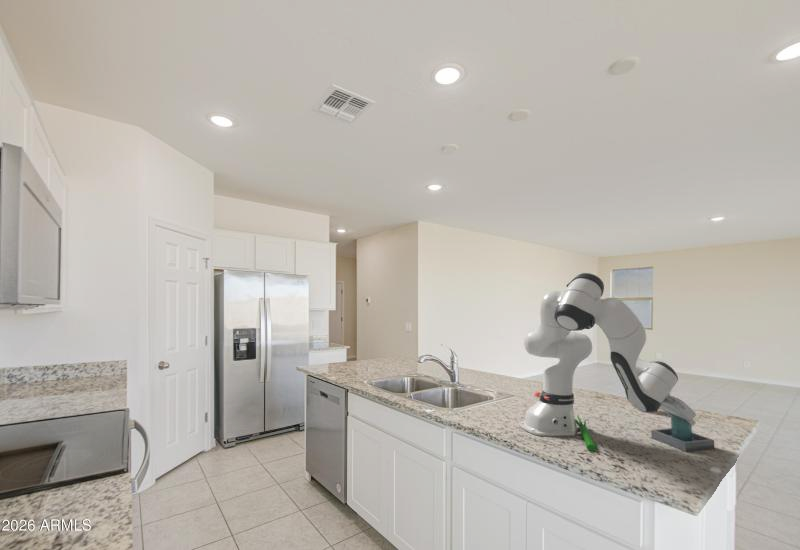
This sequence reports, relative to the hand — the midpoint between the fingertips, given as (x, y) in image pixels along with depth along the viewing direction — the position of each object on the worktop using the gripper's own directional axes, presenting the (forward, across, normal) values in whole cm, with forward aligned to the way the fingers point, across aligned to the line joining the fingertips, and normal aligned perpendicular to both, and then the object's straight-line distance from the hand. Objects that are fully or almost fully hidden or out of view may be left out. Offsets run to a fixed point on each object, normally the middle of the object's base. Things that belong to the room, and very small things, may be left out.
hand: (682, 419), depth 134 cm
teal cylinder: (+5, 0, +6) cm, 7 cm away
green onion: (-18, +6, +30) cm, 35 cm away
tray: (+6, 0, +6) cm, 9 cm away
